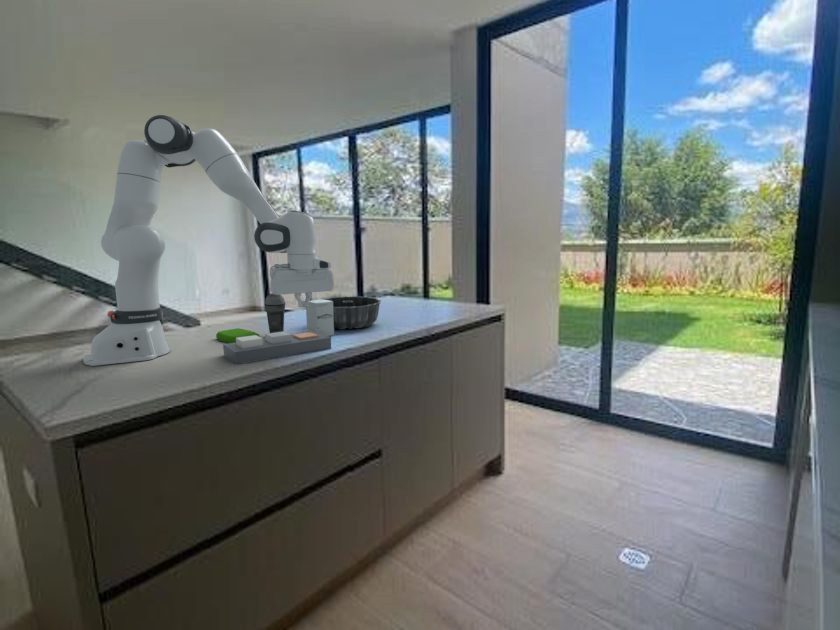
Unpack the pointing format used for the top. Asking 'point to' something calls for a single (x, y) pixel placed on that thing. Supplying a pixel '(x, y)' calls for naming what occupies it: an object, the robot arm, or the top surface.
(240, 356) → the keypad
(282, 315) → the beverage cup
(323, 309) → the supplement box
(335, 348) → the top surface
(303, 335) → the terracotta key
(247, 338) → the ivory key
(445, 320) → the top surface
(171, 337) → the top surface
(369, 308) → the bundt pan
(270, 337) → the grey key
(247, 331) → the green rounded slab
